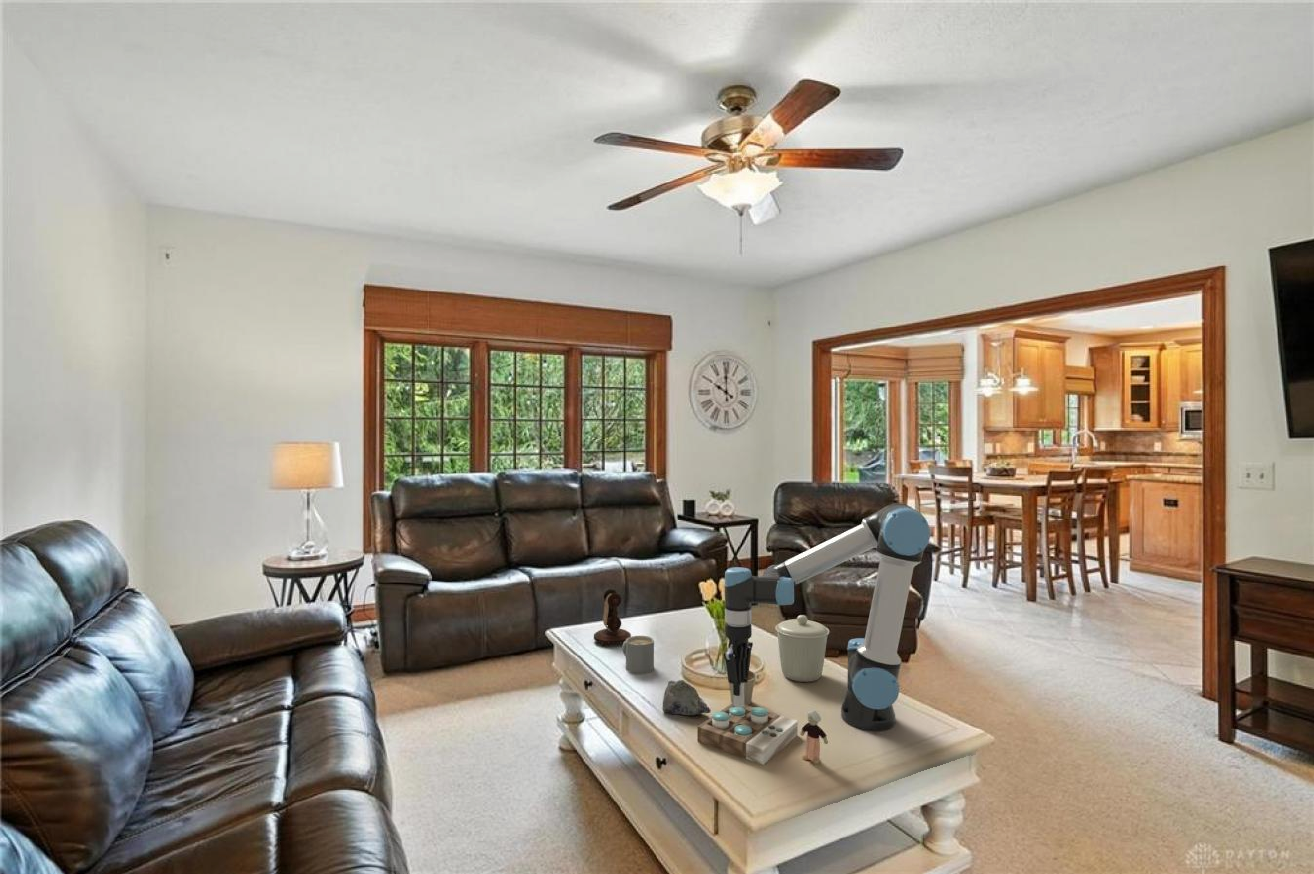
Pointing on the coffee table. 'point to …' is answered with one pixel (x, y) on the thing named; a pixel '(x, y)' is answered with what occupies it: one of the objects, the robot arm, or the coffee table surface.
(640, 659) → the coffee mug
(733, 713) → the button
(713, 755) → the coffee table surface
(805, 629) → the canister
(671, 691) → the mineral rock
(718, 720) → the button
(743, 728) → the button
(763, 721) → the button
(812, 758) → the grandmother figurine
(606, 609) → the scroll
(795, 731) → the button board
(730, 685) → the flower pot
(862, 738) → the coffee table surface
